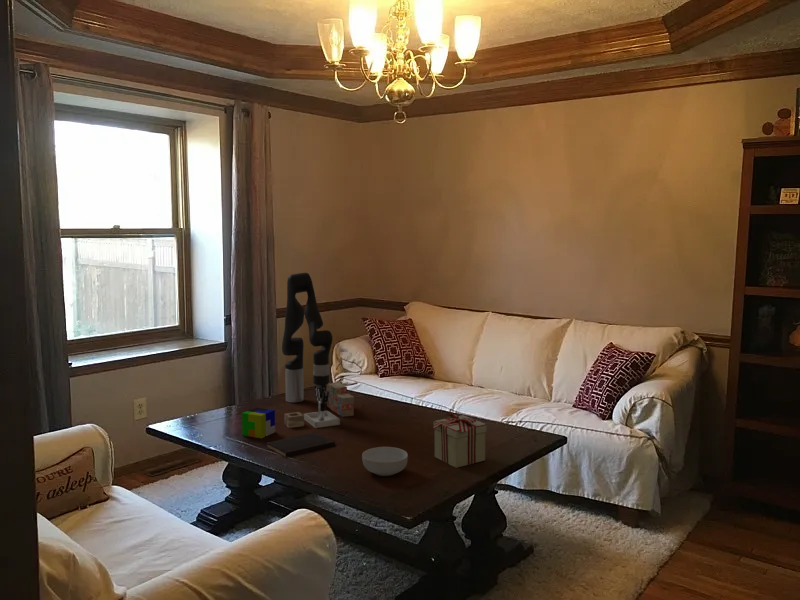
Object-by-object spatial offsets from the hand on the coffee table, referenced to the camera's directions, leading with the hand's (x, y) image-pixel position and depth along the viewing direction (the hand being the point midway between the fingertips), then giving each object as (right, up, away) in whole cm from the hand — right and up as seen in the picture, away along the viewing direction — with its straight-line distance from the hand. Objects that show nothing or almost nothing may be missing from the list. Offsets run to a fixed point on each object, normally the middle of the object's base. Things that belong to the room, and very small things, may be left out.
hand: (321, 409), depth 312 cm
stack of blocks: (+7, -4, +20) cm, 21 cm away
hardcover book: (-4, -10, -35) cm, 36 cm away
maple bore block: (-12, -6, -4) cm, 14 cm away
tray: (0, -6, +1) cm, 6 cm away
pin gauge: (0, -5, +1) cm, 5 cm away
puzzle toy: (-25, -8, -18) cm, 32 cm away
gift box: (+59, -12, -51) cm, 79 cm away
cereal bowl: (+31, -13, -64) cm, 72 cm away
